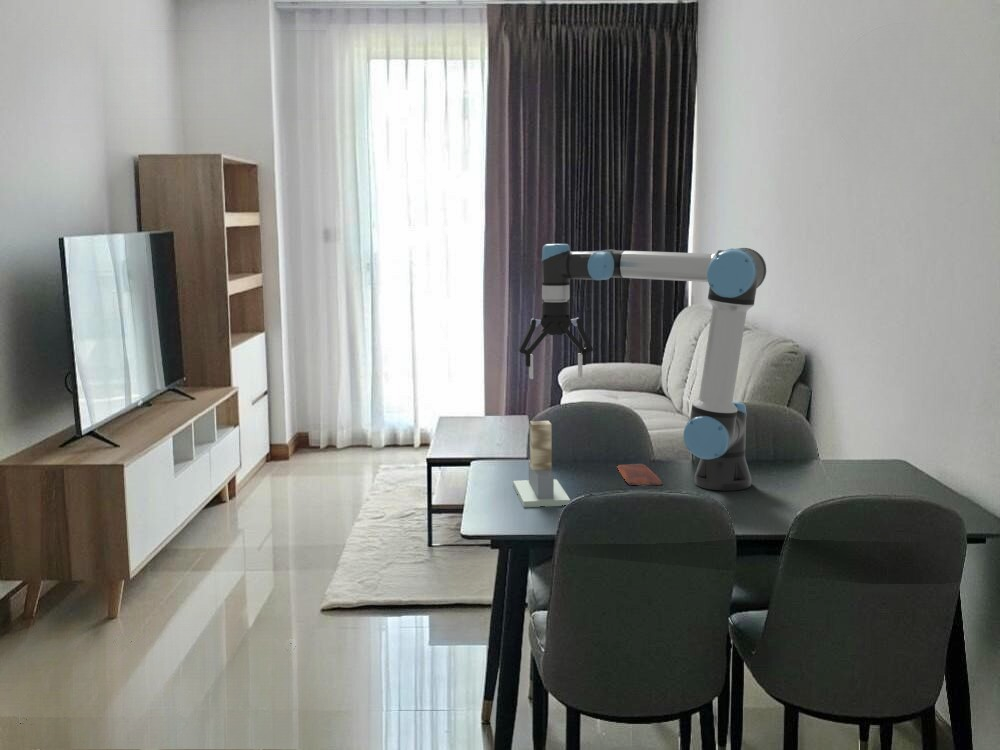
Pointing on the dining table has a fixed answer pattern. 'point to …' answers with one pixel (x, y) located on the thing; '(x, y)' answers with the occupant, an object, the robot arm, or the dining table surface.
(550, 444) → the birch block
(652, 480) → the wooden tablet
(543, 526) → the dining table surface
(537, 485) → the ridge stand
